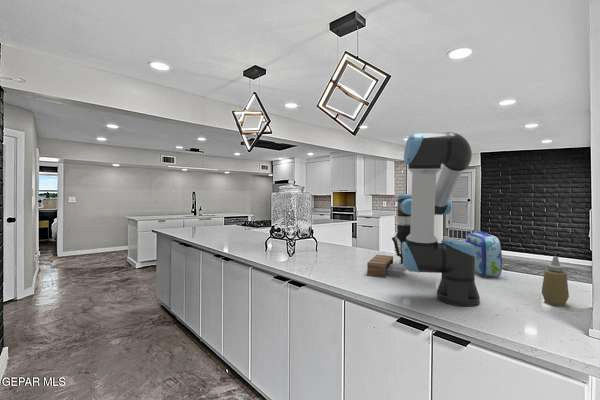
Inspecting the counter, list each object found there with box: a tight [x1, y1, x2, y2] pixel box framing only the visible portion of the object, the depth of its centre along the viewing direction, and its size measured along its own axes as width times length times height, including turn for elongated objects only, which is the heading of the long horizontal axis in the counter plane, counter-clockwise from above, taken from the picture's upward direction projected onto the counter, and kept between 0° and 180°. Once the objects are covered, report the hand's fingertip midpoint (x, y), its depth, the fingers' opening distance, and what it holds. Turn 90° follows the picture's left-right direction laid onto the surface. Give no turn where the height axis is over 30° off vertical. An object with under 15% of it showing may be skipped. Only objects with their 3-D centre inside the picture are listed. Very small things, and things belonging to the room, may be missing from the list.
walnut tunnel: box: [366, 254, 394, 279], centre depth 167 cm, size 22×9×7 cm, turn 154°
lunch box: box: [465, 230, 503, 277], centre depth 165 cm, size 26×11×21 cm, turn 168°
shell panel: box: [386, 263, 406, 278], centre depth 165 cm, size 15×12×4 cm
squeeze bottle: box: [541, 255, 570, 307], centre depth 119 cm, size 8×8×18 cm
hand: (404, 270), depth 162 cm, fingers closed
